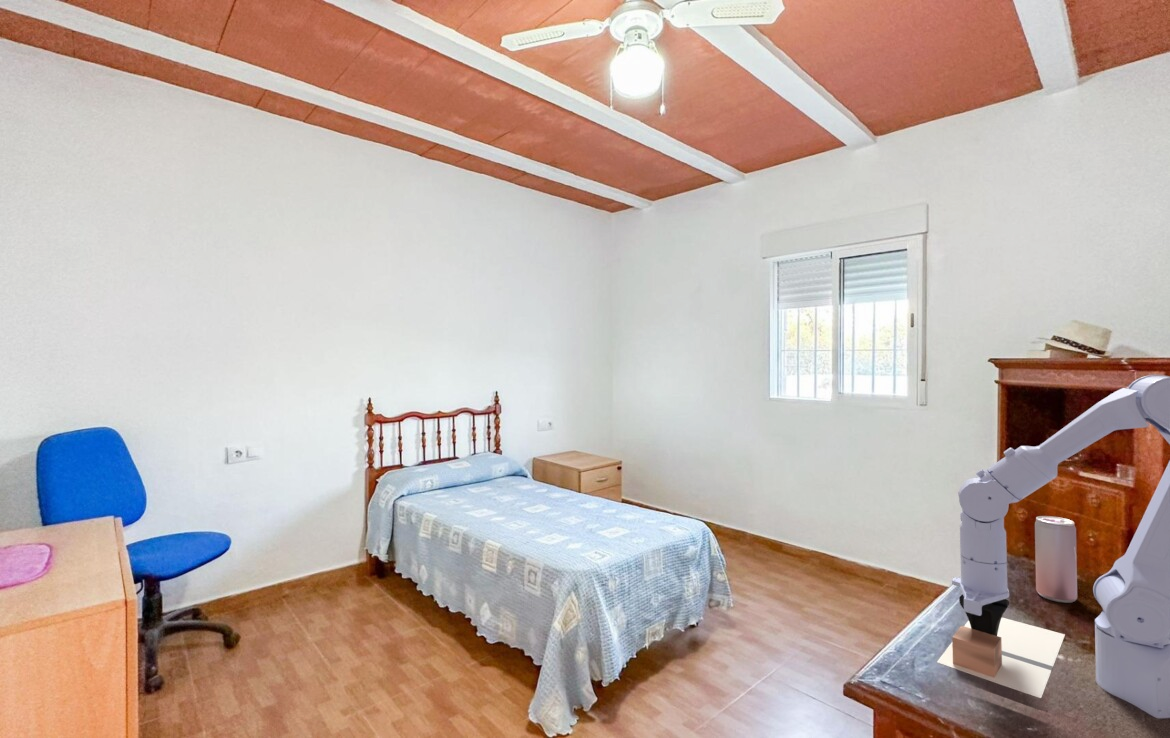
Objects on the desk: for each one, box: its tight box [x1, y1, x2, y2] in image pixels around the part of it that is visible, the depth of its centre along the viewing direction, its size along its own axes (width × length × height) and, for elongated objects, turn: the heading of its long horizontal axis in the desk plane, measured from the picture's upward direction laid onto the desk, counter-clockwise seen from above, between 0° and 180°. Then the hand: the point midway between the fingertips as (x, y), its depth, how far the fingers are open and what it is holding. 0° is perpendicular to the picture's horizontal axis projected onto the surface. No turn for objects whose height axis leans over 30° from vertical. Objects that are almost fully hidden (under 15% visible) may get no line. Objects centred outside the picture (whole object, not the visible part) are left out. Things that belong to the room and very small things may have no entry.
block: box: [951, 625, 1002, 678], centre depth 79 cm, size 5×5×4 cm
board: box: [936, 617, 1066, 699], centre depth 83 cm, size 24×12×1 cm, turn 132°
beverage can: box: [1034, 515, 1078, 604], centre depth 102 cm, size 6×6×15 cm
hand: (984, 645), depth 81 cm, fingers closed
